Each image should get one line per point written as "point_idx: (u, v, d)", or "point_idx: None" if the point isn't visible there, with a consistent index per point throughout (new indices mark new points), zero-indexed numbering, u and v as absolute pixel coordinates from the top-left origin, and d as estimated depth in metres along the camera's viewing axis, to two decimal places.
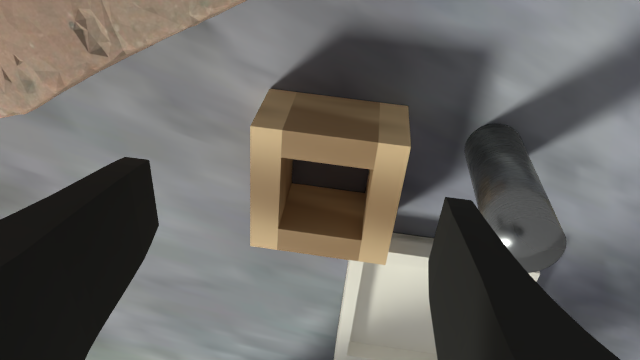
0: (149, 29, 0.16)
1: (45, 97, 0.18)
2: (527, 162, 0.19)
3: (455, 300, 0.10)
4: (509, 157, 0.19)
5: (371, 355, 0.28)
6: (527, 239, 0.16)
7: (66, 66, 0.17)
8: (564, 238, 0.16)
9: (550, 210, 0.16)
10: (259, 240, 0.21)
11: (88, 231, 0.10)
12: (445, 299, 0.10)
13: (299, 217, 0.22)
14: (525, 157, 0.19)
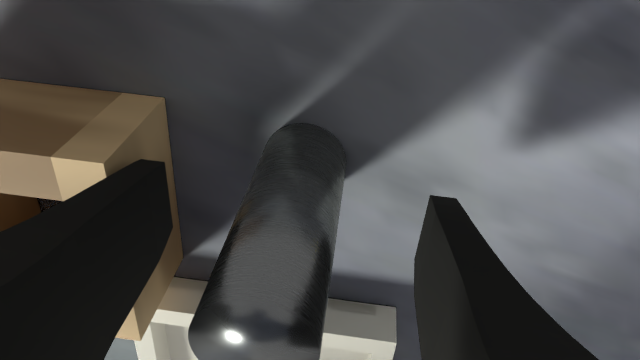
0: None
1: None
2: (312, 186, 0.11)
3: (437, 297, 0.10)
4: (283, 177, 0.11)
5: None
6: (249, 336, 0.09)
7: None
8: (311, 335, 0.08)
9: (297, 280, 0.09)
10: None
11: (107, 234, 0.09)
12: (428, 297, 0.10)
13: None
14: (315, 177, 0.11)
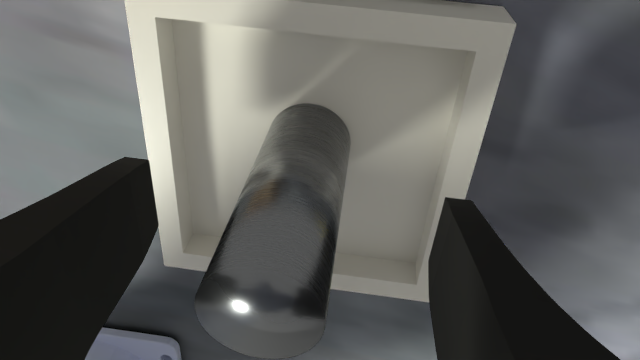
0: None
1: None
2: (313, 160, 0.11)
3: (455, 300, 0.10)
4: (284, 153, 0.11)
5: None
6: (253, 304, 0.09)
7: None
8: (314, 300, 0.08)
9: (297, 247, 0.09)
10: None
11: (88, 231, 0.10)
12: (445, 299, 0.10)
13: None
14: (316, 152, 0.12)
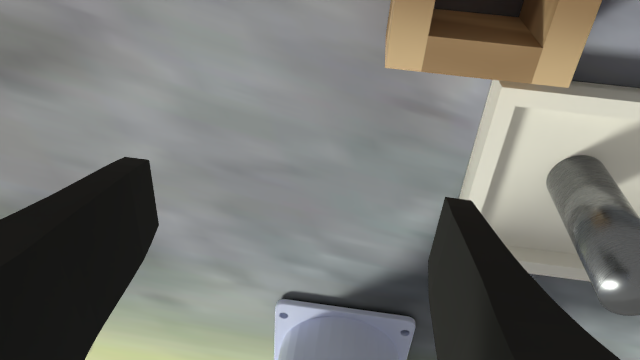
0: None
1: None
2: (622, 197, 0.18)
3: (455, 300, 0.10)
4: (603, 193, 0.18)
5: None
6: (639, 283, 0.16)
7: None
8: None
9: None
10: (399, 57, 0.16)
11: (88, 231, 0.10)
12: (445, 299, 0.10)
13: (449, 29, 0.16)
14: (618, 191, 0.18)
